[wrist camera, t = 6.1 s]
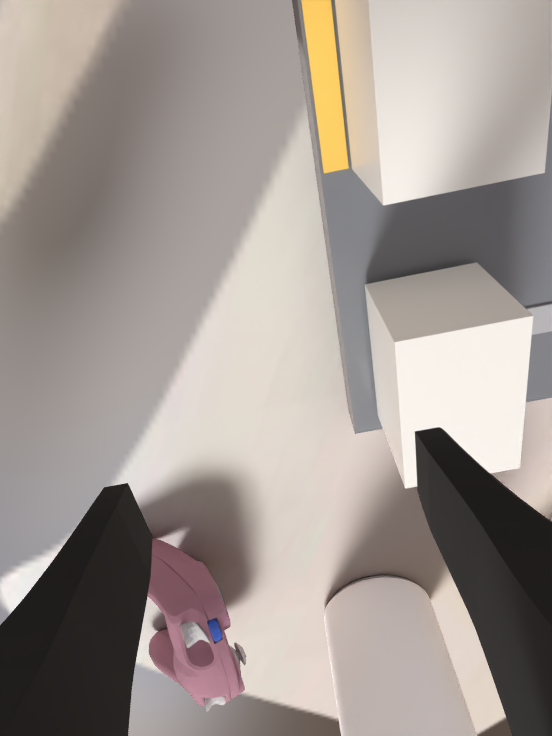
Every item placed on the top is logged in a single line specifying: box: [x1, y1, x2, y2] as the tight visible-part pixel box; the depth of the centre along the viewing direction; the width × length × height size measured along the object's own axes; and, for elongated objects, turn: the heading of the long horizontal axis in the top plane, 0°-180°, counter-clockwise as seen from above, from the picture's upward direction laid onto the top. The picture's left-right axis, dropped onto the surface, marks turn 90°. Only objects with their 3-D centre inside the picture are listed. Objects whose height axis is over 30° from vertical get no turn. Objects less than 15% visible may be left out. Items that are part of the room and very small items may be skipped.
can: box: [324, 575, 477, 736], centre depth 27 cm, size 6×6×12 cm
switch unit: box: [292, 0, 552, 434], centre depth 18 cm, size 12×18×2 cm, turn 10°
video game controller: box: [147, 538, 246, 711], centre depth 28 cm, size 10×5×7 cm, turn 5°
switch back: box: [365, 262, 533, 489], centre depth 19 cm, size 4×6×4 cm, turn 11°
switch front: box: [335, 0, 552, 206], centre depth 13 cm, size 4×6×4 cm, turn 11°
